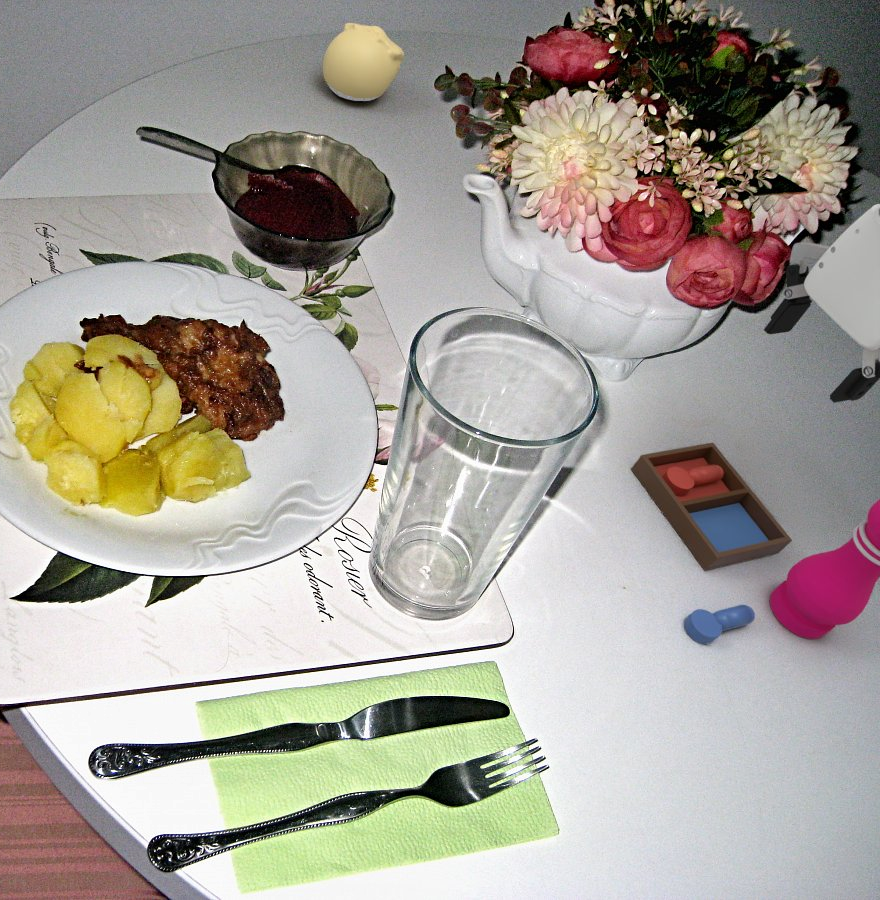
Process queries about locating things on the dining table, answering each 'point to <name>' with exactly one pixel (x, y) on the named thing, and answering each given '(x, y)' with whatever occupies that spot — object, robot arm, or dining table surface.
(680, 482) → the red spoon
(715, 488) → the red pad
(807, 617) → the pink bowling pin
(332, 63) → the sculpture
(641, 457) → the divided wooden tray
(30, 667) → the dining table surface
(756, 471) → the dining table surface
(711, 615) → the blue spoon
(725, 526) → the blue pad
